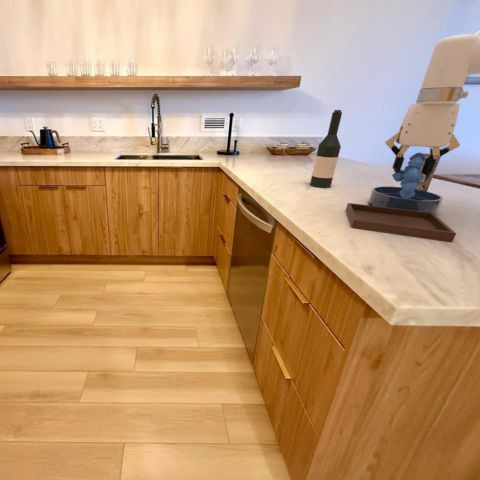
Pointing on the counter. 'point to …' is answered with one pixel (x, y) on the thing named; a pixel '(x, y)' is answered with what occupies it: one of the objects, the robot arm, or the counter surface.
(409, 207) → the bowl
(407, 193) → the grapes
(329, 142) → the wine bottle
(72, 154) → the counter surface
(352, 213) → the tray
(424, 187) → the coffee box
